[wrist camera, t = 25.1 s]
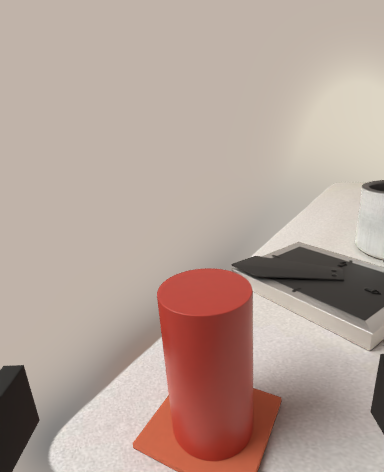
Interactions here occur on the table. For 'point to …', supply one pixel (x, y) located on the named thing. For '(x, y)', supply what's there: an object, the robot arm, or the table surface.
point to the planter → (371, 220)
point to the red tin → (209, 360)
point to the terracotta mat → (190, 468)
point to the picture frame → (322, 289)
